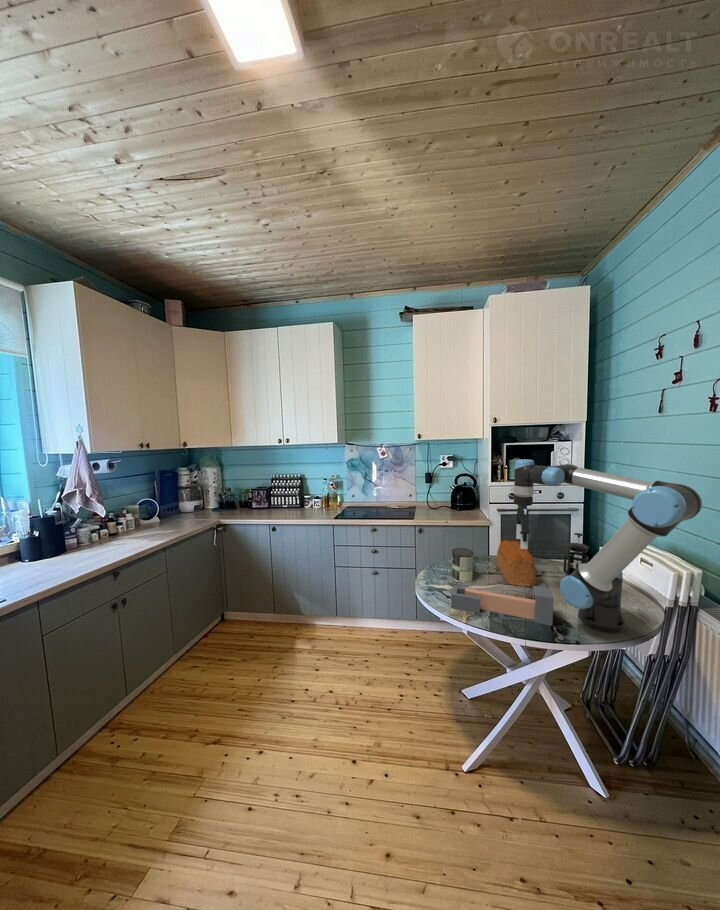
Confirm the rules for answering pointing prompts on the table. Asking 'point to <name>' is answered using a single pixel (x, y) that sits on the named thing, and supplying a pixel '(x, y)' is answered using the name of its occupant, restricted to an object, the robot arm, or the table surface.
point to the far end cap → (464, 600)
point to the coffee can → (462, 565)
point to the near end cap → (543, 605)
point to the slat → (504, 603)
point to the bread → (516, 564)
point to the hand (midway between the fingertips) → (521, 543)
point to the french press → (571, 565)
